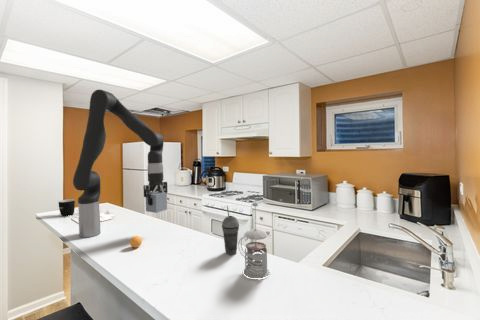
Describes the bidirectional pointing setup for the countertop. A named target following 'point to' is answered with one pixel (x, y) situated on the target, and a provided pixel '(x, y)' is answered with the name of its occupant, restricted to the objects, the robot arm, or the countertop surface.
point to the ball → (135, 241)
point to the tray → (102, 215)
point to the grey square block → (157, 202)
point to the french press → (255, 267)
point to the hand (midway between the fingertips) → (156, 203)
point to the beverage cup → (230, 234)
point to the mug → (67, 207)
